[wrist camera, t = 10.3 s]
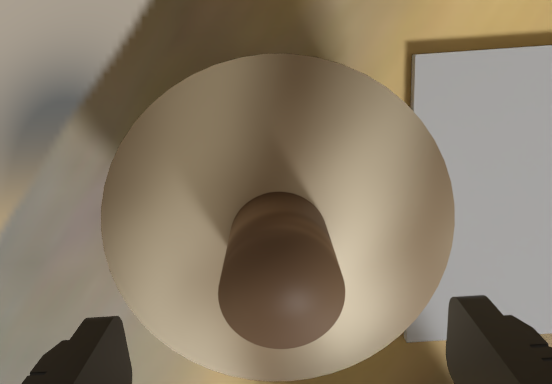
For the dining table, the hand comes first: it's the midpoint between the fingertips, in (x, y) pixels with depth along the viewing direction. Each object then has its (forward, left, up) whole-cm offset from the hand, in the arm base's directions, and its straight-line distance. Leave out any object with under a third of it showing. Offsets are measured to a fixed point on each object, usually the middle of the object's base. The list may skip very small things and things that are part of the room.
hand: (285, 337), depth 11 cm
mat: (-15, +2, -13) cm, 20 cm away
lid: (0, 0, -7) cm, 7 cm away
